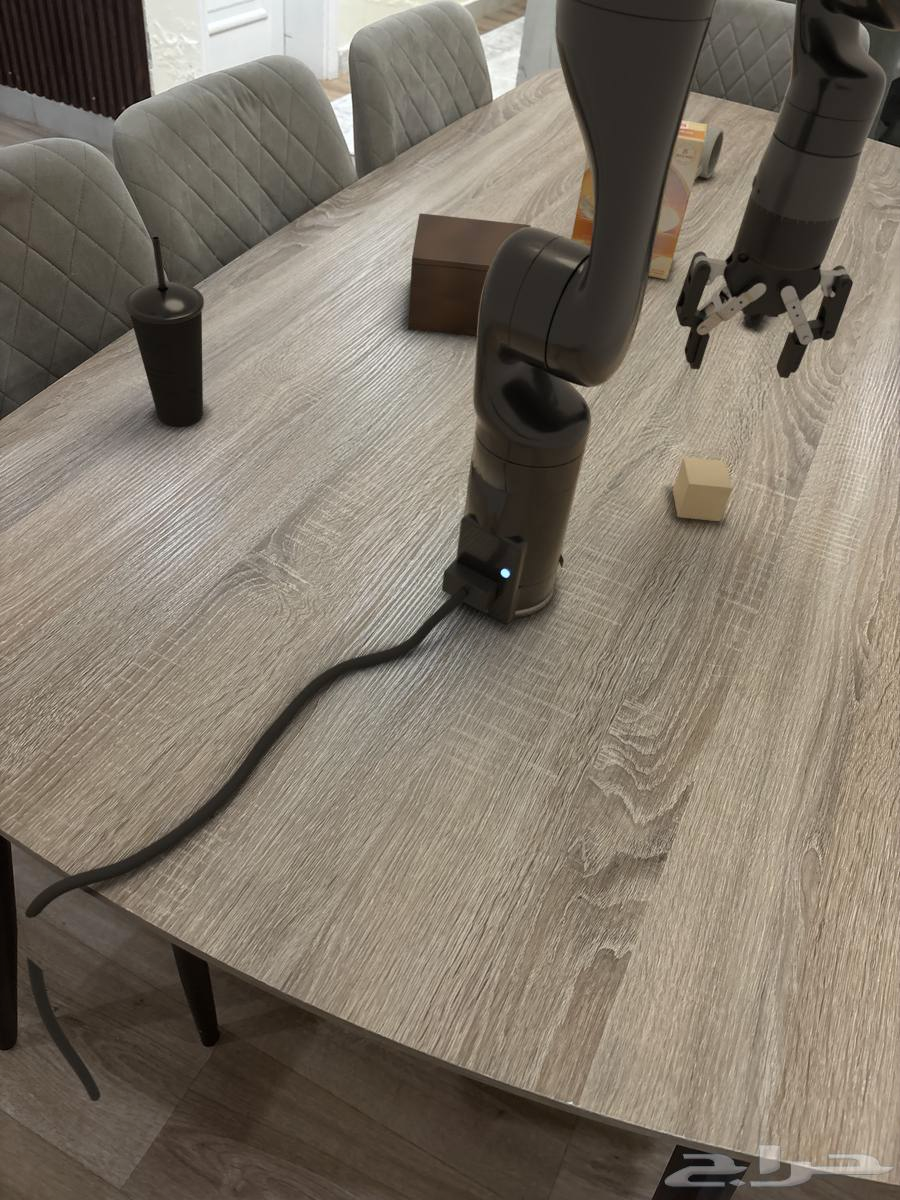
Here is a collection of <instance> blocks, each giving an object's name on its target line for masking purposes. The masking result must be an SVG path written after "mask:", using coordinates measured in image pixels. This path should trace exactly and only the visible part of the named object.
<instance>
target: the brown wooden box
mask: <svg viewBox="0 0 900 1200" xmlns="http://www.w3.org/2000/svg"><path fill="white" fill-rule="evenodd" d="M527 227H532V225H530V224H524V223H516V222H505V221H496V220H486V219H478V218H469V217H458V216H448V215H439V214H431V213H430V214H429V213H422V212H421V213H419V214H418V219H417V225H416V232H415V237H414V238H415V239H414V244H413V248H412V249H413V250H412V255H411V266H410V267H411V268H410V284H409V285H410V286H409V301H408V318H407V320H408V321H407V329H408V330H415V331H426V332H437V333H446V334H457V335H464V336H466V335H467V336H476V337H477V327H478V315H479V307H480V301H481V295H482V290H483V286H484V282H485V279H486V276H487V272H488V269H489V267H490V264H491V262H492V260H493V258H494V256H495V254H496V253H497V251H498V249H499V248H500V246H501V245H502V243H503V242H504V241H505V240H506V239H507V238H508V237H509V236H510V235H511V234H513V233H514V232H516V231H517V230H520V229H522V228H527Z"/></svg>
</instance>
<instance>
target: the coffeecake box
mask: <svg viewBox="0 0 900 1200" xmlns="http://www.w3.org/2000/svg"><path fill="white" fill-rule="evenodd" d="M707 127H708V124H707V123H699V122H695V121H689V120H682V124H681V127H680V131H679V134H678V138H677V142H676V146H675V150H674V154H673V158H672V162H671V166H670V171H669V175H668V179H667V184H666V189H665V194H664V199H663V204H662V209H661V214H660V220H659V225H658V230H657V235H656V240H655V246H654V251H653V256H652V261H651V266H650V271H649V277H652V278H655V279H660V280H661V279H662V280H665V281H666V280H668V278H669V277H668V276H669V273H670V270H671V268H672V263H673V260H674V256H675V252H676V248H677V245H678V241H679V238H680V234H681V230H682V227H683V224H684V218H685V214H686V212H687V209H688V205H689V201H690V198H691V194H692V191H693V190H692V189H693V187H694V182H695V180H696V179H695V176H696V172H697V168H698V165H699V161H700V157H701V153H702V150H703V145H704V141H705V136H706V130H707ZM592 227H593V188H592V179H591V172H590V167H589V161H588V157H587V156H586V159H585V164H584V170H583V173H582V180H581V185H580V191H579V197H578V202H577V207H576V213H575V218H574V222H573V227H572V232H571V237H570V239H571V240H574V241H577V242H580V243H584V244H585V245H588V246H590V247H591V238H592Z"/></svg>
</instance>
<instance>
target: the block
mask: <svg viewBox="0 0 900 1200" xmlns="http://www.w3.org/2000/svg"><path fill="white" fill-rule="evenodd" d="M675 478H676V479H675V482H674V485H673V488H672V495H673V501H674V505H675V510H676V516H677V518H680V519H681V518H682V519H692V520H703V521H712V522H720V521H721V519H722V516H723V515H724V513H725V509H726V506H727V504H728V502H729V498H730V496H731V494H732V491H733V485H732V481H731V476H730V473H729V469H728V465H727V461H726V460H718V459H717V460H716V459H707V458H698V457H688V456H683V457H682V461H681V464H680V467H679V470H678V472H677V476H676V477H675Z"/></svg>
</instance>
